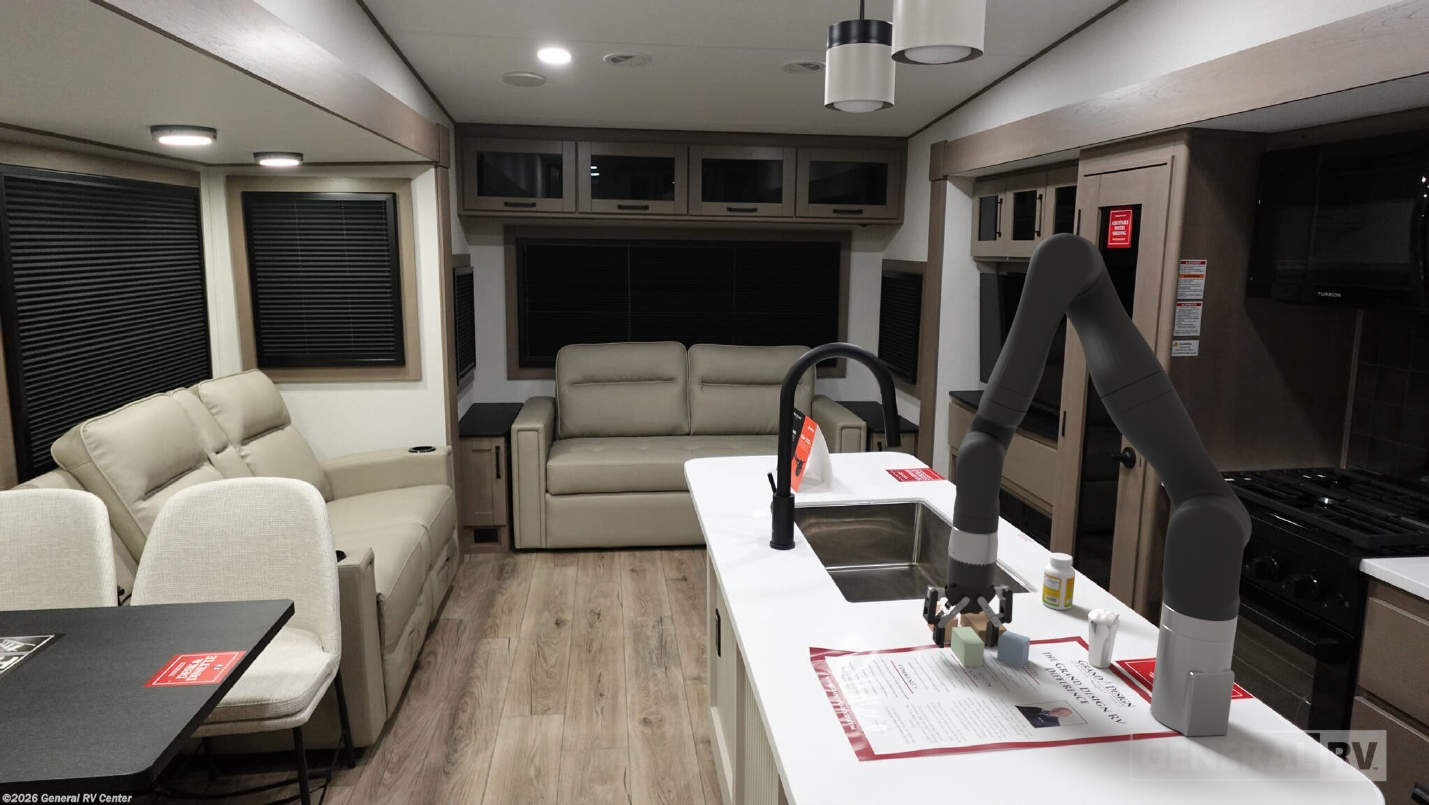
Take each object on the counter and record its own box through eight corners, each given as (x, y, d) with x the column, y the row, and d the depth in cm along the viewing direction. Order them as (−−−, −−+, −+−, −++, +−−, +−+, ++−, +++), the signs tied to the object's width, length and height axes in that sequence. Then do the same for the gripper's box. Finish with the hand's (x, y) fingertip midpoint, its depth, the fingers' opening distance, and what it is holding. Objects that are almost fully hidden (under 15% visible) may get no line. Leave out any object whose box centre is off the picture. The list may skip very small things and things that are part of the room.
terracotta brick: (956, 640, 145) (958, 619, 145) (938, 641, 145) (940, 619, 144) (944, 625, 151) (946, 604, 151) (927, 625, 151) (928, 605, 150)
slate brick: (1028, 660, 139) (1030, 637, 138) (1021, 667, 136) (1023, 644, 136) (1004, 652, 141) (1006, 630, 141) (997, 659, 139) (998, 637, 138)
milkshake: (1100, 674, 134) (1106, 616, 132) (1077, 658, 139) (1083, 602, 137) (1124, 671, 135) (1130, 613, 133) (1100, 655, 140) (1106, 599, 139)
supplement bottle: (1067, 599, 162) (1071, 551, 161) (1075, 611, 157) (1080, 562, 155) (1038, 598, 163) (1042, 550, 161) (1046, 610, 158) (1050, 561, 156)
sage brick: (982, 666, 137) (984, 643, 136) (963, 667, 136) (965, 644, 136) (968, 648, 143) (970, 626, 142) (950, 649, 142) (952, 627, 142)
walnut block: (1005, 645, 144) (1007, 629, 144) (977, 646, 144) (978, 630, 143) (986, 625, 152) (987, 609, 151) (959, 626, 152) (961, 610, 151)
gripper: (937, 563, 132) (930, 657, 135) (1025, 562, 133) (1015, 656, 136) (922, 545, 139) (915, 636, 143) (1005, 544, 141) (997, 634, 144)
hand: (964, 645), depth 140 cm, fingers open, 8 cm apart
